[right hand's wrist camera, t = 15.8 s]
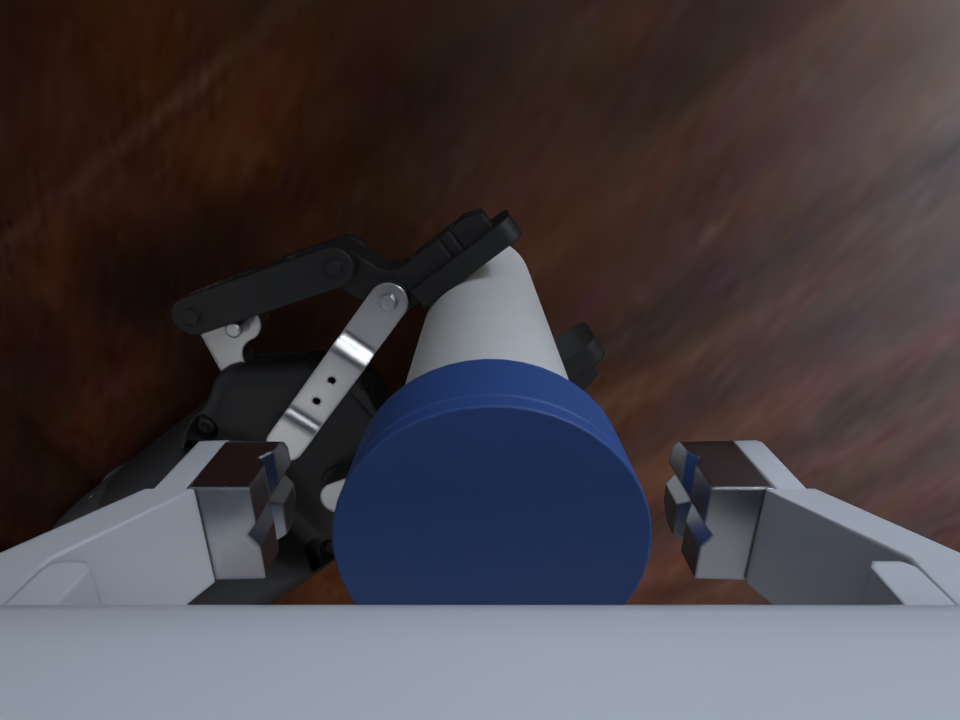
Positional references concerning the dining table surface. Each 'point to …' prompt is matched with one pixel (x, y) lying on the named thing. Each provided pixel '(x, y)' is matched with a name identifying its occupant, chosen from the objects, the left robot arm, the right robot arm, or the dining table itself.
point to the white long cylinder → (488, 321)
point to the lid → (491, 495)
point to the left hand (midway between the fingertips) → (553, 282)
